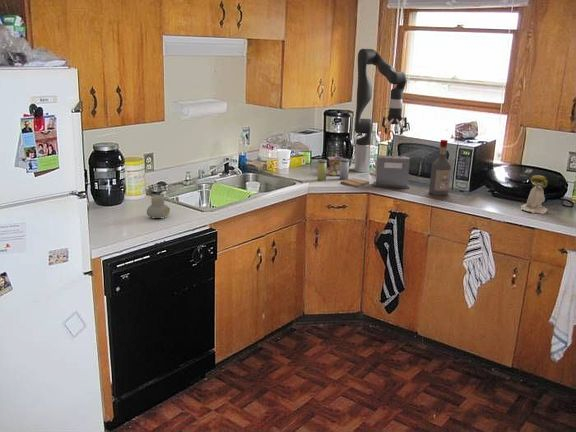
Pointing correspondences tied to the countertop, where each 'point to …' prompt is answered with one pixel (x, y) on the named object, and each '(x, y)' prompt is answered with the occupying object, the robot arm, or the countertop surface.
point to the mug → (334, 165)
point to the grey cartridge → (344, 169)
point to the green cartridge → (322, 170)
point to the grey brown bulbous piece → (157, 207)
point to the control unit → (392, 171)
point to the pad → (354, 182)
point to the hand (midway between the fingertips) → (393, 134)
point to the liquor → (440, 172)
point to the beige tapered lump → (536, 195)
